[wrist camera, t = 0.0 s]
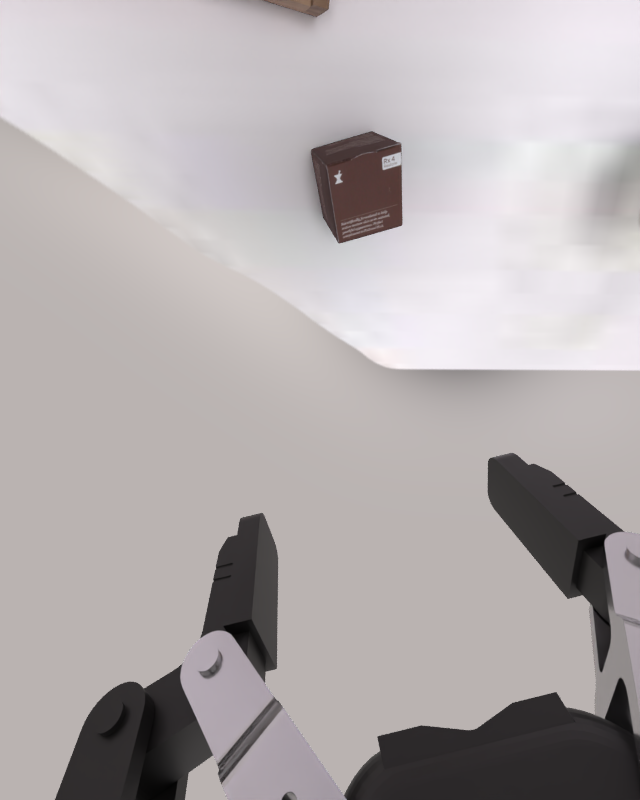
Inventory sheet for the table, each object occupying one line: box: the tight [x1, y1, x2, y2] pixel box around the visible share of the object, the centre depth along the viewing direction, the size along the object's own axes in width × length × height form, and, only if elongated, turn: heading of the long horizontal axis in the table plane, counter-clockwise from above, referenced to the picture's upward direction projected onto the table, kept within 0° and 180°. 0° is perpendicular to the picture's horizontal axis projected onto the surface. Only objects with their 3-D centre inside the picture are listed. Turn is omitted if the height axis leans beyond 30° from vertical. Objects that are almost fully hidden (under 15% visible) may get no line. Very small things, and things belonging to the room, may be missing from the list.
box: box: [311, 132, 402, 243], centre depth 29 cm, size 6×6×7 cm
